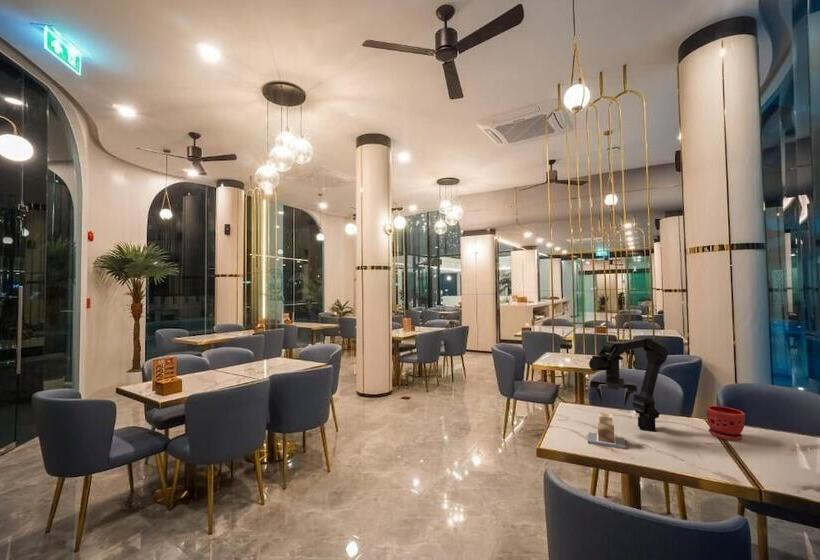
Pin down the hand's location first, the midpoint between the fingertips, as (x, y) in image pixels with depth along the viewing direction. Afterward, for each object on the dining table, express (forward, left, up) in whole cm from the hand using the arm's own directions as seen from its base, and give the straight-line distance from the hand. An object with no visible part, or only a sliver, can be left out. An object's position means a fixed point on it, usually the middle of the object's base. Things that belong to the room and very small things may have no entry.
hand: (613, 403), depth 176 cm
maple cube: (+3, +13, -7) cm, 15 cm away
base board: (+3, +13, -13) cm, 19 cm away
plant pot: (-44, -16, -13) cm, 49 cm away
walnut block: (+3, +13, -12) cm, 18 cm away
